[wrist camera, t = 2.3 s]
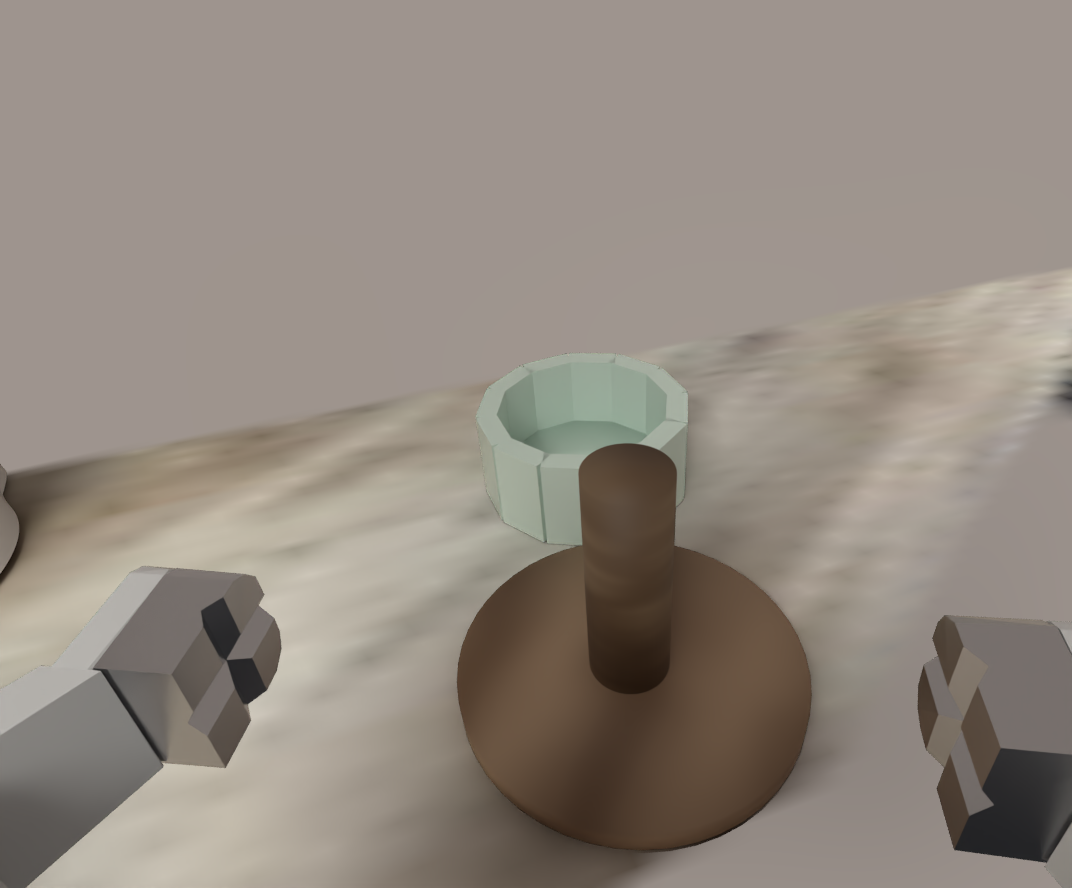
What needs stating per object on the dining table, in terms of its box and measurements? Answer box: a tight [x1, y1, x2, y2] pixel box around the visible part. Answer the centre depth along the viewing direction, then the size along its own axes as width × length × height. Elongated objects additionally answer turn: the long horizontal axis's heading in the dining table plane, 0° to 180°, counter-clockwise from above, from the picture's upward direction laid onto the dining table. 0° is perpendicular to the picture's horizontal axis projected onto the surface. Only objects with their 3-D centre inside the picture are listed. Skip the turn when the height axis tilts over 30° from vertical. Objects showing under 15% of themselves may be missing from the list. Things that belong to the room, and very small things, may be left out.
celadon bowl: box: [476, 353, 688, 545], centre depth 38 cm, size 10×10×4 cm
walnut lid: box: [457, 443, 812, 850], centre depth 26 cm, size 13×13×10 cm
